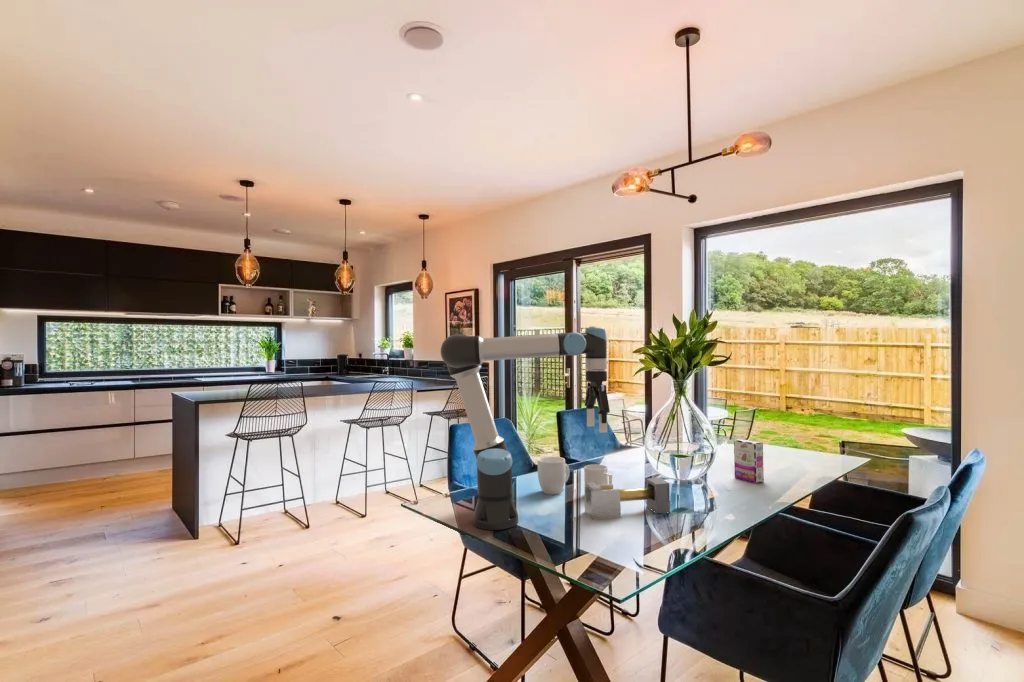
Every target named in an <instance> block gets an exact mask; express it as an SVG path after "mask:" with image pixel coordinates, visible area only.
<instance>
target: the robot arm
mask: <svg viewBox="0 0 1024 682" xmlns="http://www.w3.org/2000/svg"><path fill="white" fill-rule="evenodd" d="M607 335H608V334H607V329H606V328H605V327H602V326H600V327H597V326H596V327H595V326H594V327H586V328H585V330H584V332H577V331H571V332H559V333H556V332H555V333H549V334H544V333H543V334H532V335H531V334H530V335H517V336H515V335H514V336H502V337H501V336H500V337H499V336H497V337H485V338H484V337H482V336H481V335H466V334H462V333H458V334H457V333H456V334H452V335H449V336H448V337H446V338H444V339H445V340H444V341H442V344H441V347H440V356H441V359H442V361H443V363H444V364H446V366H447V369H448V370H447V371H448V373H449V375H450V377H451V378H452V379H455V381H456V385H457V388H458V390H459V393H460V397H461V399H462V403H463V407H464V410H465V413H466V416H467V420H468V422H469V425H470V430H471V433H472V435H473V438H474V442H475V444H474V446H473V448H472V449H473V452H474V456H475V459H476V472H477V473H476V477H477V478H476V479H477V480H476V481H477V486H476V487H477V502H476V504H475V507H474V512H473V514H472V515H473V516H472V524H473V526H475V528H478V529H480V530H481V529H482V530H487V531H498V530H499V531H500V530H507V529H510V528H512V527H516V526H517V525H518V523H519V514H518V511H517V507H516V505H515V502H514V499H513V458H512V454H511V452H510V451H508V447H507V444H506V441H505V439H504V437H502V436H501V435H499V433H498V429H497V427H496V423H495V420H494V417H493V413H492V410H491V407H490V403H489V400H488V398H487V394H486V390H485V388H484V384H483V381H482V379H481V375H480V370H481V368H482V364H483V363H484V362H486V361H489V362H491V361H501V360H502V361H503V360H504V361H505V360H517V359H520V360H521V359H532V358H545V357H546V358H547V357H560V356H561V357H565V356H574V357H575V356H579V355H582V354H583V355H585V370H586V371H585V380H586V382H587V384H586V394H585V399H584V400H585V401H584V407H585V408H586V427H595V426H596V425H595V417H596V416H595V409H596V406H595V404H596V403H597V406H598V410H599V411H598V433H600V434H601V433H602V434H603V433H604V434H605V433H608V413H610V405H609V400H608V398H609V397H608V393H607V385H606V384H603V382H607V381H608V371H607V368H608V366H607V365H608V363H609V361H608V360H607V359H608V356H607V355H608V354H607V353H608V350H607V348H608V343H607V342H608V336H607Z"/></svg>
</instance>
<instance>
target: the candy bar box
mask: <svg viewBox="0 0 1024 682" xmlns="http://www.w3.org/2000/svg"><path fill="white" fill-rule="evenodd" d="M733 453H734V454H733V459H734V461H733V463H734V464H733V465H734V478H735V479H739V480H741V481H745V482H750V483H752V484H761V483H764V481H765V479H764V443H763V442H760V441H757V440H750V439H749V440H748V439H745V438H737V439H734V440H733Z"/></svg>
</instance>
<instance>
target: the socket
mask: <svg viewBox="0 0 1024 682" xmlns="http://www.w3.org/2000/svg"><path fill="white" fill-rule="evenodd" d="M645 480H646V483H645V484H646V488H647V487H654V496H655V499H647V500H646V508H647V507H649V508H650V509H652V510H653V511H655V512H656V513H663V514H668V513H667V512H670V513H671V498H670V496H671V495H670V493H671V491H670V482H668V481H666V480H664V479H663V478H660V477H651V478H650V477H649V478H646V479H645ZM649 508H648V509H649ZM650 509H649V510H650ZM652 510H651V511H652ZM653 511H652V512H653ZM655 512H654V513H655ZM656 513H655V514H656Z"/></svg>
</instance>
